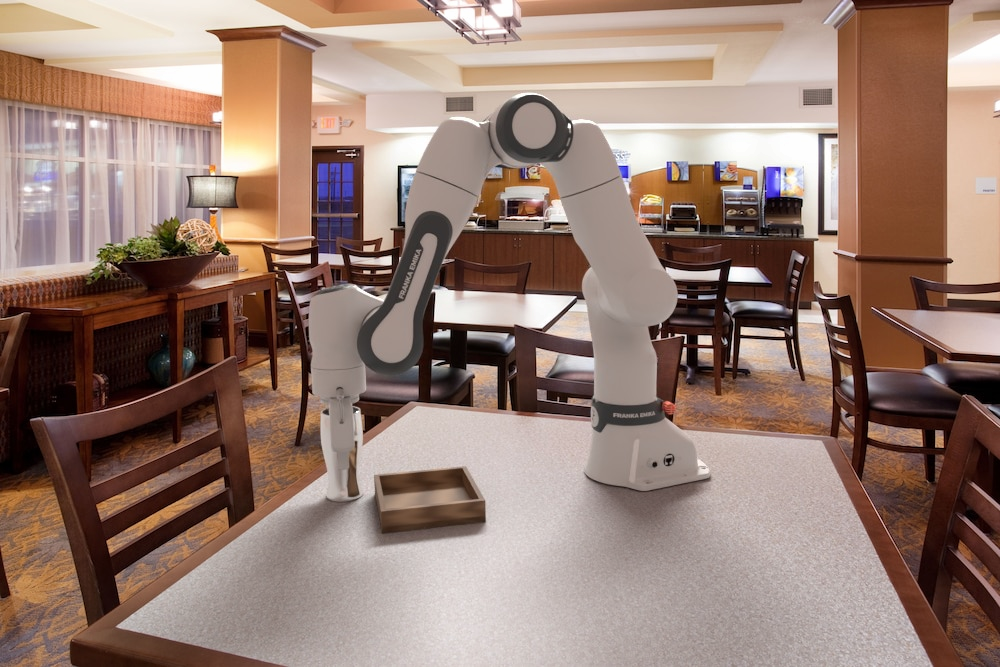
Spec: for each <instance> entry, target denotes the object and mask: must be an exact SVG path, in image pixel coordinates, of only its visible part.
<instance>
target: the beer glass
mask: <svg viewBox="0 0 1000 667" xmlns="http://www.w3.org/2000/svg"><path fill="white" fill-rule="evenodd" d="M352 407H353V422H354V440H355V446H354V450H352V451H349V468H348V469H346V470H340V469H339V468H338V459H337V453H336V452H333V451H332V449H331V439H330V421H329V408H328V407H326V408H324V409H322V410H321V411H320V441H321V442H320V443H321V444H320V445H321V449H322V454H323V458H324V463H325V466H326V471H327V477H328V478H327V489H326V498H327V500H330V501H331V502H337V503H339V502H340V503H344V502H346V503H347V502H353V501H355V500H357V499H360V498H361V497H362V496H363V495H364V490H363V486H362V482H361V472H360V470H361V468H360V467H361V461H362V460H361V459H362V454H363V444H364V443H363V442H364V438H363V437H364V432H363V422H362V415H361V414H362V412H361V408H360V407H358V406H355V405H352ZM343 423H344V422H343ZM340 424H342V423H340Z"/></svg>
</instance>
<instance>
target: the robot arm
mask: <svg viewBox="0 0 1000 667" xmlns="http://www.w3.org/2000/svg"><path fill="white" fill-rule="evenodd" d="M537 164H538V165H541V166H542V167H544V168H545V169H546V170H547V172H549V175H550V176H551V178H552V180H553V182H554V185H555V187H556V190H557V194H558V197H559V199H560V202H561V205H562V208H563V210H564V214H565V217H566V220H567V223H568V225H569V228H570V230H571V234H572V236H573V239H574V242H575V243H576V245H577V246H578V247H579V248H580V250H581V252H582V253H583V255H584V256H585V258H586V260H587V262H588V263H589V266H590V267H589V268H588V269H587V270H586V271H585V273H584V275H583V277H582V282H581V291H582V294H583V297H584V300H585V303H586V304H585V305H586V310H587V317H588V324H589V325H588V326H589V331H590V336H591V342H592V343H591V344H592V349H593V367H594V368H593V369H594V370H593V380H594V382H593V396H592V397H591V408H590V422H591V428H592V434H591V442H590V448H589V453H588V457H587V460H586V465H585V466H584V467H585V468H584V473H585V475H586V476H587V477H589V478H590V479H591V480H594V481H596V482H599V483H602V484H605V485H611V486H618V487H625V488H629V489H633V490H636V491H641V492H647V491H651V490H657V489H658V490H659V489H662V488H667V487H672V486H676V485H681V484H686V483H691V482H696V481H701V480H705V479H710V477H711V470H710V467H709V466H708V465H707V464H706V463H705V462H703V461H702V460H701V459H700V458H698V453H697V449H696V444H695V443H694V440H693V439H692V437H691V436H689V434H688V433H686V432H685V431H684V430H683V429H681V428H680V427H678V426H677V425H676V424H674V423H673V422H672V421H671V420H670V419H668V418H667V417H666V415H665V413H666V414H668V415H674V414H675V412H676V411H677V405H676V404H674V403H672V402H671V401H669V400H664V399H661V398H659V397H658V396H657V379H658V378H657V372H658V371H657V370H658V365H657V363H658V356H657V352H656V349H655V348H654V346H653V344H652V339H651V335H650V331H649V327H651V326H656V325H659V324H662V323H664V322H665V321H666V320H667V319H669V318H670V316H672V314H673V312H674V311H675V308H676V306H677V303H678V295H679V294H678V288H677V285H676V282H675V281H674V279H673V277H672V276H671V275H670V274H669V273H668V272H667V271H666V269H665V268H664V266H663V265H662V264H661V262H660V259H659V257H658V256H657V254H656V252H655V251H654V248H653V246H652V245H651V243H650V241H649V240H648V238H647V235H646V234H645V233H644V230H643V229H642V227H641V225H640V222H639V221H638V218H637V216H636V214H635V210H634V208H633V205H632V202H631V199H630V195H629V193H628V190H627V187H626V185H625V184H626V183H625V181H624V178H623V175H622V173H621V169H620V167H619V164H618V161H617V160H616V156H615V154H614V152H613V150H612V148H611V145H610V144H609V142H608V140H607V138H606V136H605V135H604V132H603V131H602V129H601V128H600V127H599V125H598V124H596V123H595V122H594V121H591V120H586V119H578V120H572V119H570V117H568V116H567V115H566V114H565V113H564V112H562V110H560V108H559V107H558V106H557V105H556V104H555V103H554V102H552V101H551V100H550V99H549V98H547V96H544V95H542V94H539V93H534V92H523V93H519V94H516V95H514V96H512V97H510V98H508V99H506V100H505V101H503V102H502V103H500V104H499V105H498V106H497V107H495V109H494V111H493V112H492V113H491V114H490V115H488V116H487V117H486V118H485V119H484V120H483V121H480V122H479V121H475V120H473V119H471V118H467V117H463V116H455V117H454V116H453V117H449V118H447V119H444V120H442V122H441V123H440V124H439V125H438V127H437V128H436V130H435V132H434V134H433V135H432V137H431V138H430V140H429V142H428V144H427V145H426V148H425V150H424V152H423V153H422V156H421V158H420V160H419V163H418V164H417V168H416V170H415V173H414V175H413V176H412V177H413V178H412V181H411V183H410V187H409V190H408V195H407V200H406V203H405V204H406V205H405V206H406V207H405V210H404V211H405V212H404V220H405V221H404V223H405V224H404V225H405V227H404V228H405V230H404V234H405V235H404V241H403V242H404V243H403V248H402V252H401V256H400V259H399V261H398V264H397V267H396V270H395V272H394V275H393V278H392V280H391V282H390V286H389V288H388V290H387V294H386V295H385V298H384V299H383V298H381V297H378V296H376V295H373V294H371V293H369V292H367V291H365V290H363V289H362V288H360V287H359V286H358V285H357V284H353V283H339V284H336V285H331V286H327V287H325V288H321V289H319V290H318V291H316V293H314V294H313V296H312V297H311V299H310V300H309V307H308V308H309V309H308V338H309V339H308V340H309V344H310V346H311V349H312V350H311V351H312V356H311V361H310V372H311V374H310V375H311V390H312V392H311V393H312V394H313V395H314V396H316V397H320V404H322V405H324V406H327V408H329V421H330V439H331V449H332V451H333V452H336V453H337V459H338V468H339V469H340V470H346V469H348V468H349V451H352V450H354V446H355V440H354V422H353V407H352V406H353V404H355V403H357V402H359V400H360V394H361V395H362V393H363V394H364V392H366V390H367V377H366V376H367V374H366V367H367V368H368V369H370V371H372V372H374V373H376V374H379V375H383V376H396V375H400V374H404V373H406V372H408V371H410V370H411V369H412V368H413V367H414V366H416V364H417V363H418V362H419V360H420V358H421V356H422V354H423V350H424V343H425V342H424V330H423V329H424V327H423V325H424V324H423V320H424V315H425V311H426V308H427V306H428V302H429V300H430V297H431V294H432V293H433V292H432V291H433V290H434V287H435V283H436V281H437V279H438V275H439V274H440V270H441V268H442V265H443V262H444V260H445V258H446V257H447V255H448V253H449V251H450V250H451V248H452V247H453V245H455V243H456V241H457V239H458V238H459V236H460V234H461V233H462V231H463V230H464V228H465V227H466V225H467V223H468V221H469V220H470V217H471V215H472V213H473V211H474V209H475V207H476V204H477V202H478V200H479V197H480V194H481V192H482V188H483V186H484V183H485V181H486V179H487V177H489V176H488V175H489V174H490V173H491V171H492V170H493V169H494V168H499V169H505V170H516V169H524V168H530V167H532V166H534V165H537ZM343 422H344V423H343ZM340 423H342V424H340Z"/></svg>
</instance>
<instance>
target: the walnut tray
mask: <svg viewBox="0 0 1000 667" xmlns="http://www.w3.org/2000/svg"><path fill="white" fill-rule="evenodd" d="M373 481H374V484H373V485H374V497H375V501H376V502H375V503H376V509H377V512H378V513H377V514H378V518H379V519H378V520H379V523H380V524H379V525H380V529H381V534H389V533H390V532H391V533H398V531H400V532H407V531H406V530H408V531H415V530H414V529H417V530H424V529H434V528H441V527H450V526H460V525H469V524H478V523H486V522H487V521H486V520H487V516H486V515H487V513H486V498H485V497H484V495H483V494H482V492H481V490H480V488H479V487H478V485H477V482H475V480H474V478H473V476H472V475H471V473H470V470H469V469H468V467H467V466H466V465H465V466H453V467H444V468H443V467H442V468H432V469H422V470H411V471H399V472H390V473H381V474H380V473H379V474H374V475H373ZM391 533H390V534H391Z"/></svg>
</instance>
